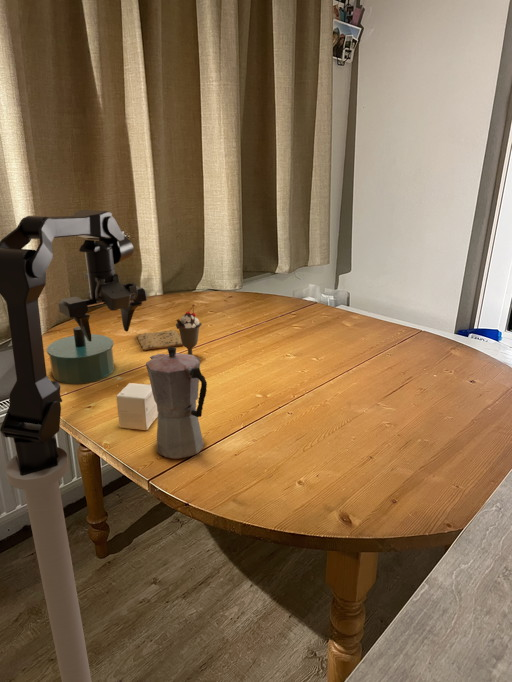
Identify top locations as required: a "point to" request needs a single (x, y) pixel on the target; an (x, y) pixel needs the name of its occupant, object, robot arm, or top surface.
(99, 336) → the lid
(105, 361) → the pot
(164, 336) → the cookie
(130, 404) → the product box
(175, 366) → the moka pot
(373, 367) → the top surface
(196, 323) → the sundae
